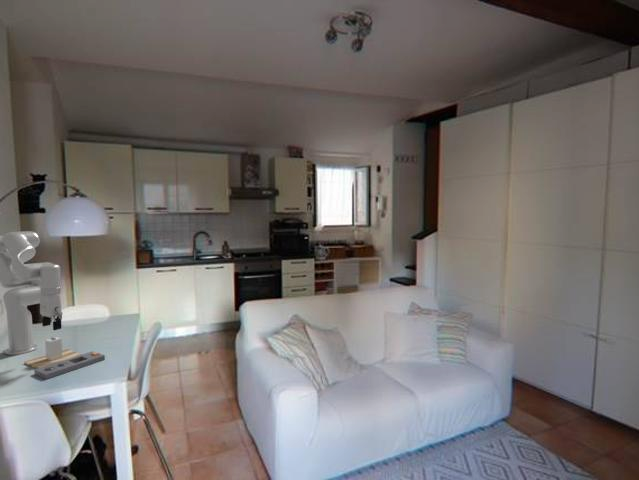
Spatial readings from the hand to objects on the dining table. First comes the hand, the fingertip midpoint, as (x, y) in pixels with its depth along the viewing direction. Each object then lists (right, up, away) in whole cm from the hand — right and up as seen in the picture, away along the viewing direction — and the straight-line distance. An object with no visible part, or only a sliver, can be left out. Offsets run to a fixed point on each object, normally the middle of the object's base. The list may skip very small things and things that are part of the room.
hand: (51, 327), depth 171 cm
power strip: (+14, -16, -7) cm, 22 cm away
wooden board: (+1, -15, +1) cm, 15 cm away
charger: (+1, -15, +1) cm, 15 cm away
